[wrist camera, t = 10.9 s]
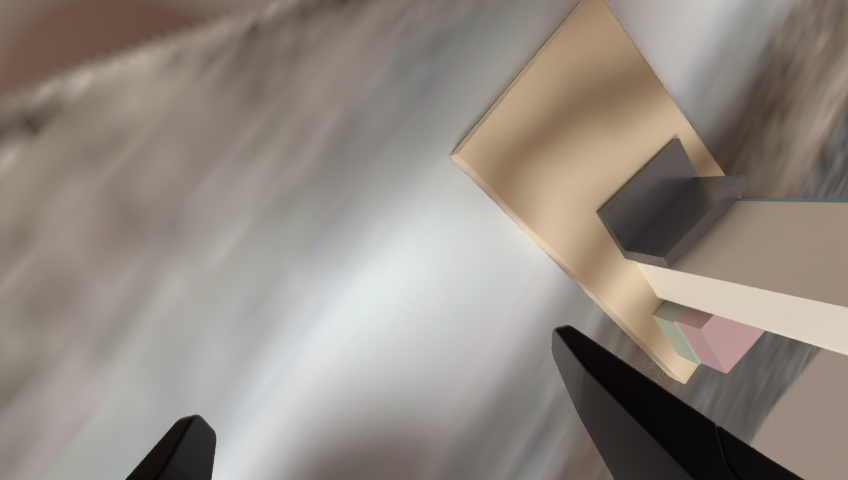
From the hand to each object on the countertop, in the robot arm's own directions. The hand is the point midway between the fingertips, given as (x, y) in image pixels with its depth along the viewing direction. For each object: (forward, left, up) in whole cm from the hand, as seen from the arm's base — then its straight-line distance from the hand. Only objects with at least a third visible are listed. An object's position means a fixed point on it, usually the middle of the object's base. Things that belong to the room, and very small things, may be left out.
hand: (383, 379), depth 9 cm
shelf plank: (+1, -18, -10) cm, 21 cm away
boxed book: (-2, -21, -9) cm, 23 cm away
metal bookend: (+1, -19, -9) cm, 21 cm away
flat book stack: (-6, -23, -9) cm, 25 cm away
